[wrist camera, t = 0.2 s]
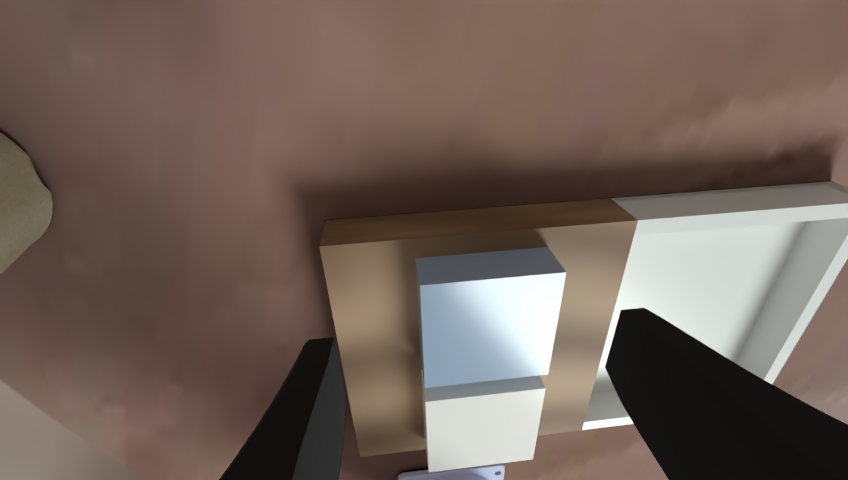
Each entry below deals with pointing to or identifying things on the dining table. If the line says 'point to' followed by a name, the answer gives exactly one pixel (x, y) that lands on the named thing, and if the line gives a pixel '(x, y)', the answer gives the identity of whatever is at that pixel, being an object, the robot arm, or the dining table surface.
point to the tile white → (481, 422)
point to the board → (398, 304)
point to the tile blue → (488, 315)
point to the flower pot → (20, 203)
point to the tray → (730, 272)
